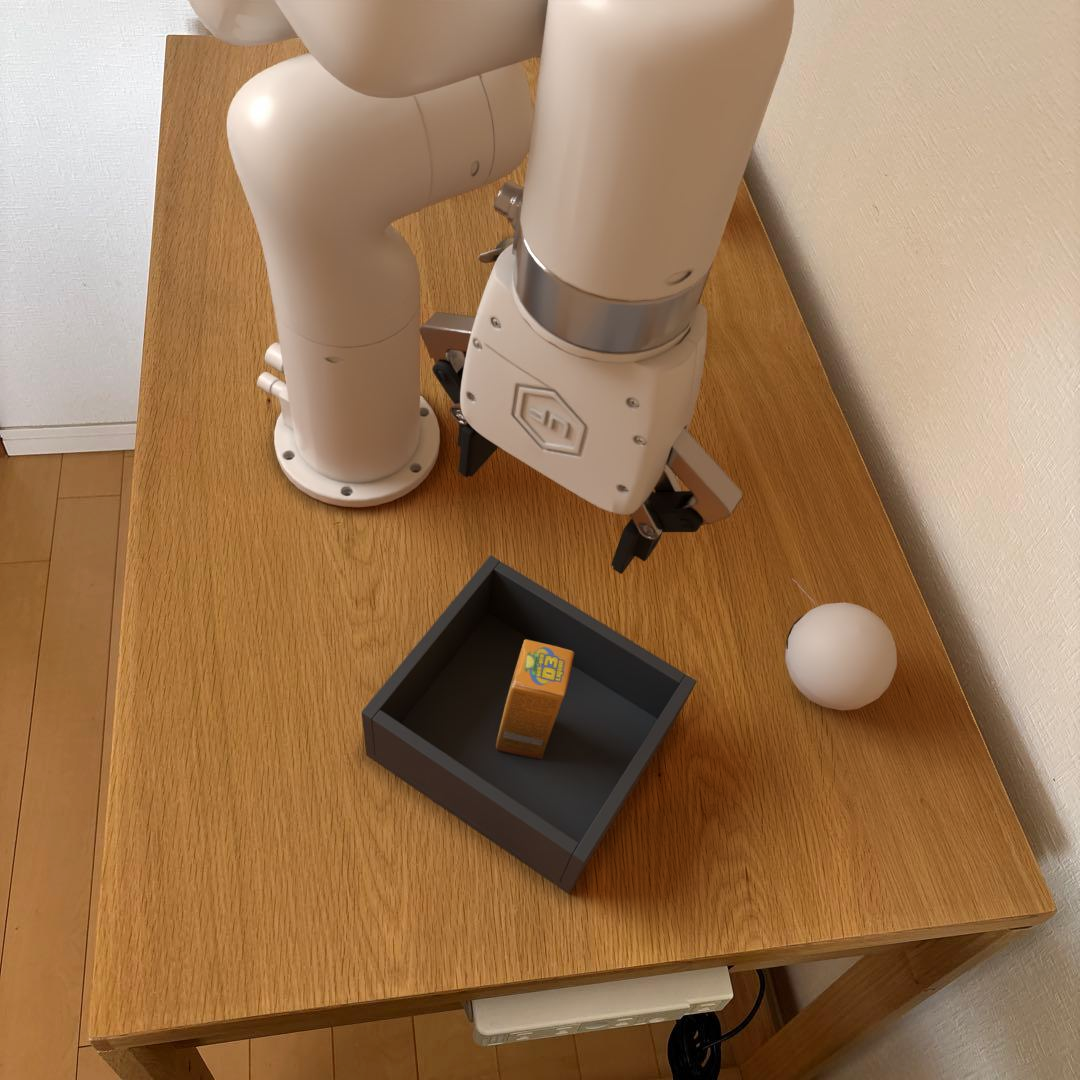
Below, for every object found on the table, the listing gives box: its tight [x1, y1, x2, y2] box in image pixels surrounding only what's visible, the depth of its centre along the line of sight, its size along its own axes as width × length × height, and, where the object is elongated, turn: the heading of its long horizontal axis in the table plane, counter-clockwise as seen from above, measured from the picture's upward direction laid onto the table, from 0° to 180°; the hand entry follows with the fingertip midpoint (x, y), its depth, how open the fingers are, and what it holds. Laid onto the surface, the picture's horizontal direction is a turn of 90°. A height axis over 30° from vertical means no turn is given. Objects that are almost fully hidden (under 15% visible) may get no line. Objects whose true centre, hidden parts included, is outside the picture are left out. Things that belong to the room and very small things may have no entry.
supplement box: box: [496, 639, 574, 759], centre depth 63 cm, size 3×3×10 cm
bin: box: [360, 554, 698, 894], centre depth 65 cm, size 16×14×7 cm
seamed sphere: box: [784, 577, 898, 711], centre depth 70 cm, size 10×7×7 cm
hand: (553, 504), depth 55 cm, fingers open, 9 cm apart
